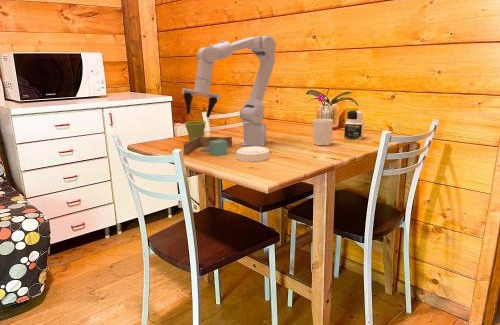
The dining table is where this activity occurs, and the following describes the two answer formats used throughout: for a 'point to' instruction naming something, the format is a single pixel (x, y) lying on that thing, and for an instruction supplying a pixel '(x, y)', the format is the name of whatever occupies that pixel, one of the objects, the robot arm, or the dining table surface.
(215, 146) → the cube
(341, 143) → the dining table surface
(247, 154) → the white flat cylinder
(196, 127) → the plant pot
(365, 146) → the dining table surface
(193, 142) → the brown corner wall
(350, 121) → the medicine bottle
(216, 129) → the dining table surface
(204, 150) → the mat
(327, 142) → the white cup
